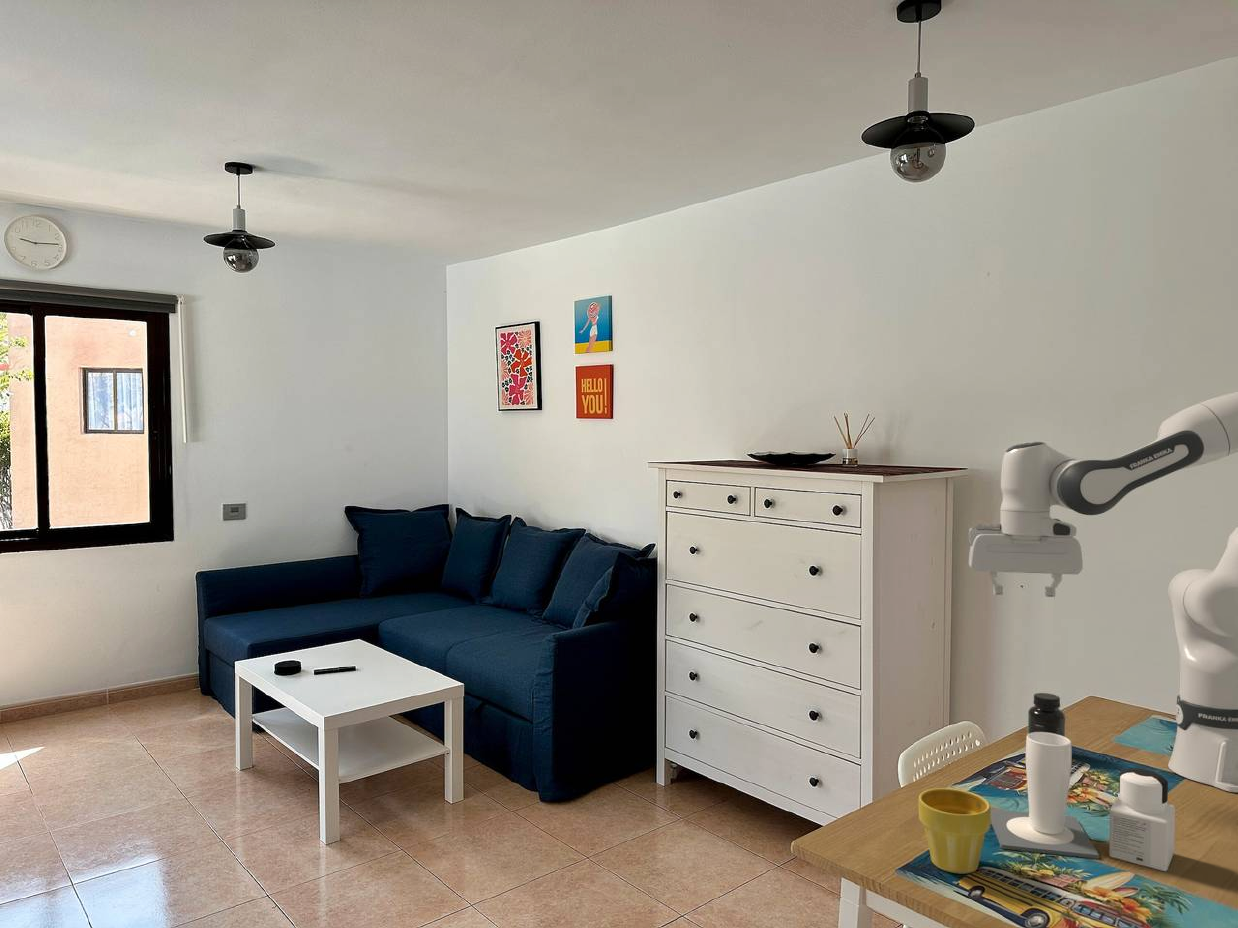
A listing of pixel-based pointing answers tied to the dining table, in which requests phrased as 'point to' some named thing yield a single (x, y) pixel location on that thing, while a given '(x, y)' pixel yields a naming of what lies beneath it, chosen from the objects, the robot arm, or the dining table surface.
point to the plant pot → (954, 827)
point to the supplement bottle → (1046, 715)
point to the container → (1142, 820)
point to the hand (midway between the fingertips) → (1023, 595)
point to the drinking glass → (1048, 780)
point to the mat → (1040, 835)
